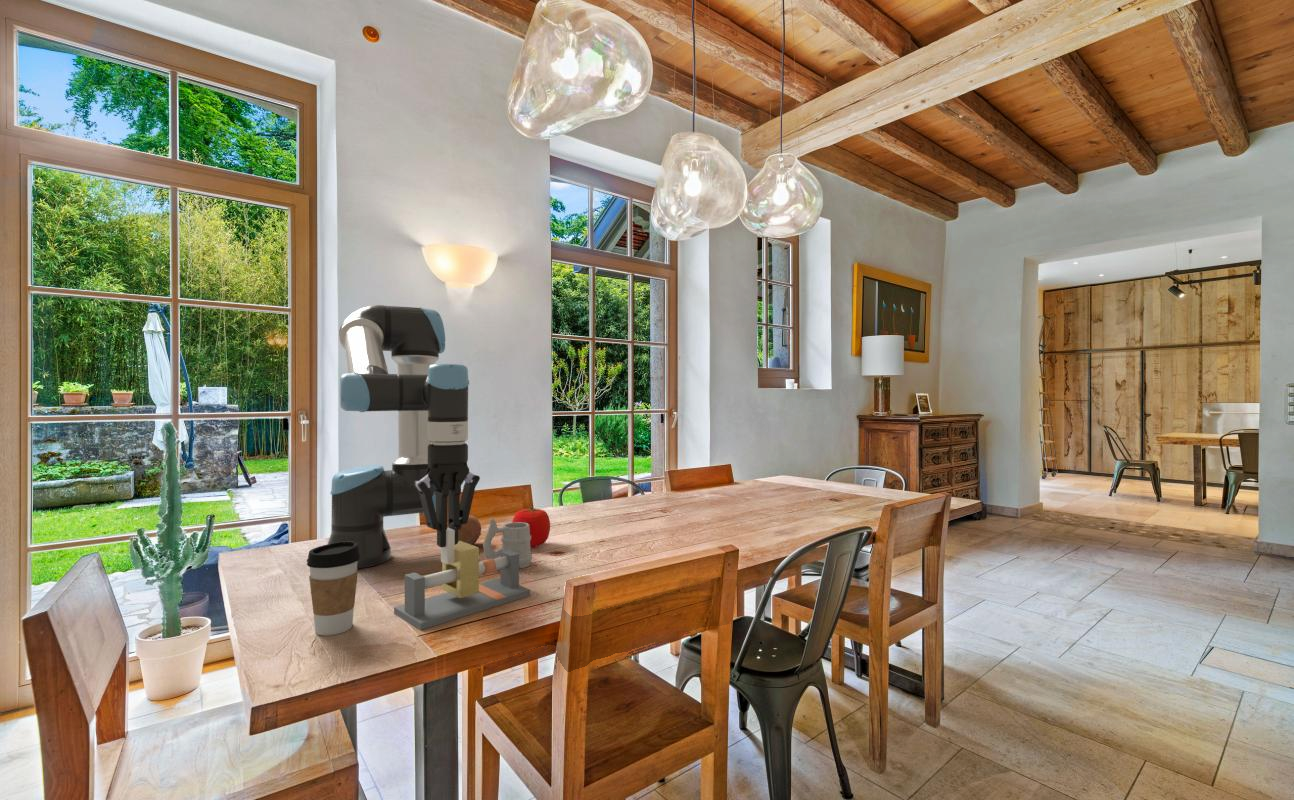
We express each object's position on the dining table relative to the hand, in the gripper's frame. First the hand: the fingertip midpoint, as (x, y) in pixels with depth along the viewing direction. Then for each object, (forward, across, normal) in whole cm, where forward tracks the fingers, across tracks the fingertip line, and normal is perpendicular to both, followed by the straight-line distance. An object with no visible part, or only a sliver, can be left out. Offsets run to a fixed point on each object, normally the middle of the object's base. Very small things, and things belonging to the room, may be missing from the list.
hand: (447, 562), depth 112 cm
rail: (+9, +4, 0) cm, 10 cm away
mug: (+10, +24, +15) cm, 30 cm away
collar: (+7, +3, 0) cm, 7 cm away
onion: (+10, +24, +38) cm, 46 cm away
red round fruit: (+10, +38, +25) cm, 46 cm away
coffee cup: (+10, -19, +6) cm, 22 cm away
